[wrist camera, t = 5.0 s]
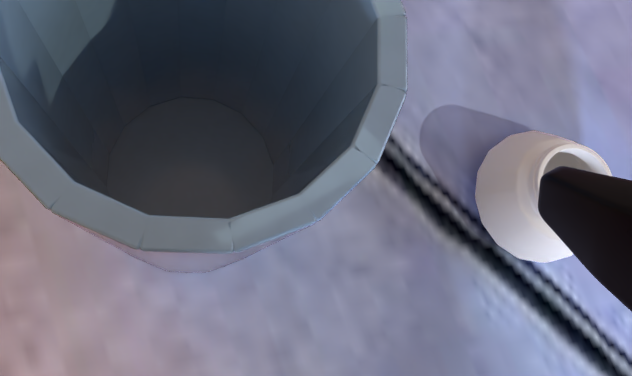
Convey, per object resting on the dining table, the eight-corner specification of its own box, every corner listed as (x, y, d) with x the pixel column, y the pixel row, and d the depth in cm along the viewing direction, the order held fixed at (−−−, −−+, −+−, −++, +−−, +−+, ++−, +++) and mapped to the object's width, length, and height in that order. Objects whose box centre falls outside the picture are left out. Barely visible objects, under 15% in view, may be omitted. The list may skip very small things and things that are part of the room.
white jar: (464, 250, 22) (581, 271, 23) (504, 245, 19) (636, 269, 20) (477, 125, 23) (589, 149, 24) (517, 102, 20) (642, 131, 21)
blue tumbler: (310, 140, 22) (464, -42, 10) (237, 303, 20) (310, 327, 8) (149, 61, 21) (97, -243, 9) (60, 224, 19) (-147, 124, 7)
